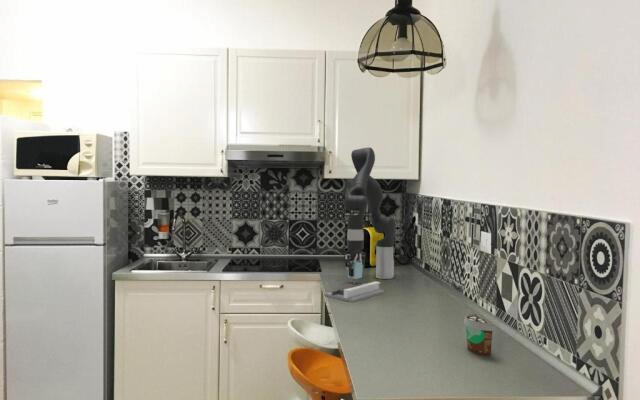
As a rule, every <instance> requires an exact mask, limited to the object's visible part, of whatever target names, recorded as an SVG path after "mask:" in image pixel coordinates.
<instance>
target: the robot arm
mask: <svg viewBox="0 0 640 400" xmlns="http://www.w3.org/2000/svg"><path fill="white" fill-rule="evenodd" d="M351 161H352V165H353V168H354V169H355V171H356V174H355V175H354V177H353V179H352V182H351V185H350V186H351V187H350V190H349V191H348V193H347V195H346V197H345V198H344V201H343V202H344V203H343V206H344V208H345V210H347V211H352V212H358V213H357V214H356V215H350V216H349V217H348V218H347V233H346V234H347V235H346V237H347V239H346V242H347V243H346V245H347V246H346V247H347V249H348V254H347V253H346V254H344V255H343V260H344V265H345V267H344V268H346V267H348V268H349V276H350V277H353V276H354V269H353V268H354V263H356V261H357V262H362V265H365V264H366V257H367V252H365V251H362V250H364V248H365V247H364V242H365V241H364V240H365V237H364V236H365V235H364V234H365V233H364V221H365V220H364V218H365V213H366V211H367V207H368V209H369V213H370V217H371V218H370V219H371V222H372V226H373V230H374V231H375V232H376V233H377V234H384V237H383V238H381V239H379V240H377V241H376V243H375V244H376V245H375V246H376V249H375V250H376V251H375V252H376V256H375V258H376V259H375V260H376V261H375V263H376V264H375V265H376V266H375V268H376V269H375V273H376V274H375V277H376V278H377V279H380V280H391V279H393V278H394V277H395V260H394V245H395V239H396V237H395V235H396V220H395V218H394V217H391V216H382V215H381V211H380V208H381V205H382V203H383V200H384V194H383V191H382V188H381V184H380V183H379V182H378V181H377V180H376V179H375V178H374V177H372V176H371V173H372V171H373V169H374V168H373V167H374V165H375V161H376V154H375V151H374V149H373V148H372V147H363V148H358V149H354V150H352V151H351ZM351 263H352V266H351Z"/></svg>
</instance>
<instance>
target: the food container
mask: <svg viewBox="0 0 640 400" xmlns="http://www.w3.org/2000/svg"><path fill="white" fill-rule="evenodd" d="M463 325H465V333H466V348H467V351H469V352H470V353H472V354H476V355H479V356H491V355H492V345H493V344H492V342H493V332H494V323H491V322H490V323H489V322H487V321H486V320H485V319H483V318H480V317H479V316H478V312H472V313H468V314H466V315H465V317H464V320H463Z"/></svg>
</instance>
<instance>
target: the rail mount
mask: <svg viewBox="0 0 640 400" xmlns="http://www.w3.org/2000/svg"><path fill="white" fill-rule="evenodd" d="M380 284H381V282H380V281H372V282H368V283H364V282H362V283H359V284H353V285H352V286H347V287H344V288H339V289H338V288H337V289H335V290H332V291H329V292H324V297H328V298H333V299H337V300H339V301H340V300H341V301H345V302H351V303H355V302H358V301H363V300H364V299H369V298H371V297H376V296H378V295H381V294H382V295H383V294H385V290H383V289H380Z"/></svg>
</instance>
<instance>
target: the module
mask: <svg viewBox="0 0 640 400" xmlns="http://www.w3.org/2000/svg"><path fill="white" fill-rule="evenodd" d="M362 262H363V261H362ZM362 262H357V261H356V263H354V268H353V269H354V276H353V277H350V276H349V268H348V271H347V278H348V279H349V278H350V279H352V280H353V279H356V280H357V279H361V278H362V277H363V271H362ZM351 266H352V263H351Z"/></svg>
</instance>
